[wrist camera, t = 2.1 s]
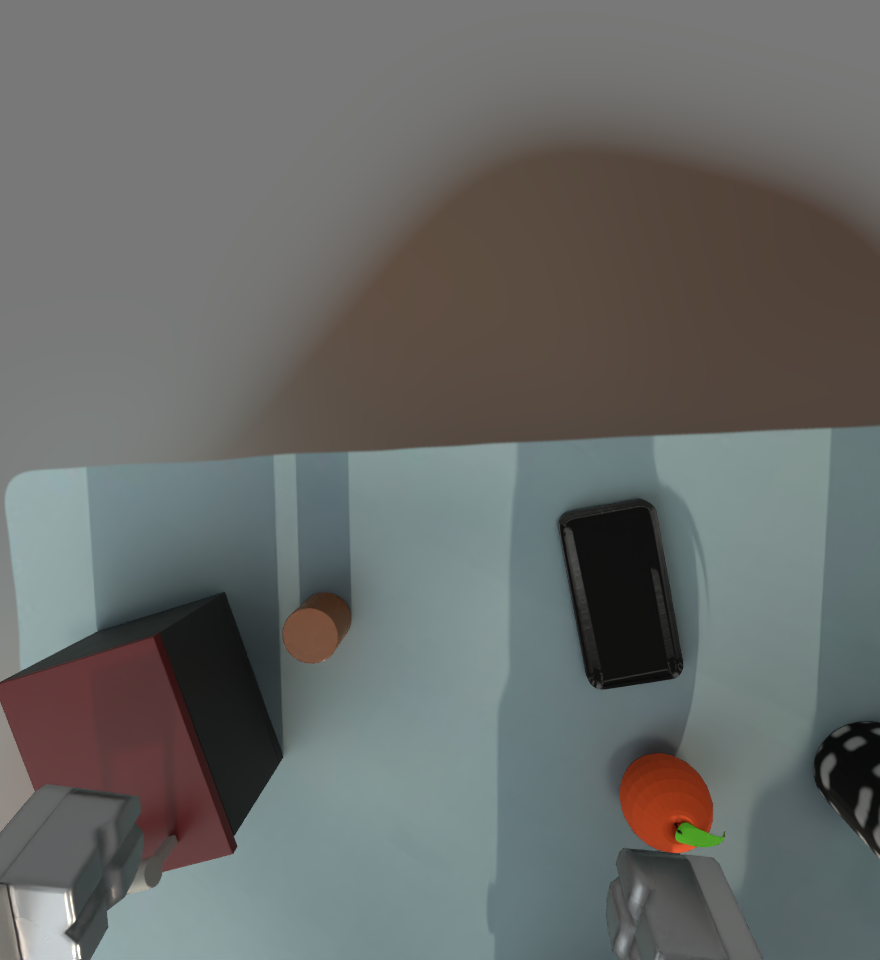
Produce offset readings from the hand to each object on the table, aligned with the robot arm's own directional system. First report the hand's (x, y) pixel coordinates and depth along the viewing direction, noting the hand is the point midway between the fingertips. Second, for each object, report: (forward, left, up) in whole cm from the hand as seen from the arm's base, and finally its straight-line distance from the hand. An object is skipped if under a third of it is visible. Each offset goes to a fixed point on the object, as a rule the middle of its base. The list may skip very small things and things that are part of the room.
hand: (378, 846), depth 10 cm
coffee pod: (-12, +10, -39) cm, 42 cm away
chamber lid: (-22, +21, -29) cm, 42 cm away
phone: (-4, -14, -39) cm, 41 cm away
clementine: (-19, -21, -39) cm, 48 cm away
